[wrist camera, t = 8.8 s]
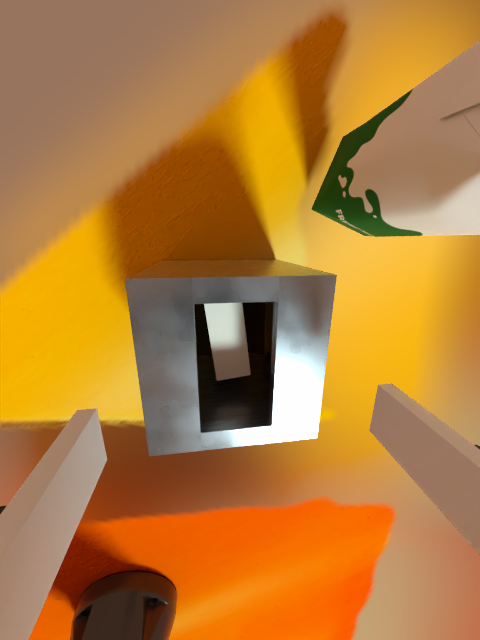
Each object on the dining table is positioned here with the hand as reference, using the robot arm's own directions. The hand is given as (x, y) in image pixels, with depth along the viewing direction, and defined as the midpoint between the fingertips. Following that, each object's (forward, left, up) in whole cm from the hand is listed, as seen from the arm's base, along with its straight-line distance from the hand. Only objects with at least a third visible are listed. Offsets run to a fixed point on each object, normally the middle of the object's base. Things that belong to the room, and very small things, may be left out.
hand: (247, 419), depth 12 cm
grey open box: (0, 0, -17) cm, 17 cm away
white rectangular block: (0, 0, -17) cm, 17 cm away
